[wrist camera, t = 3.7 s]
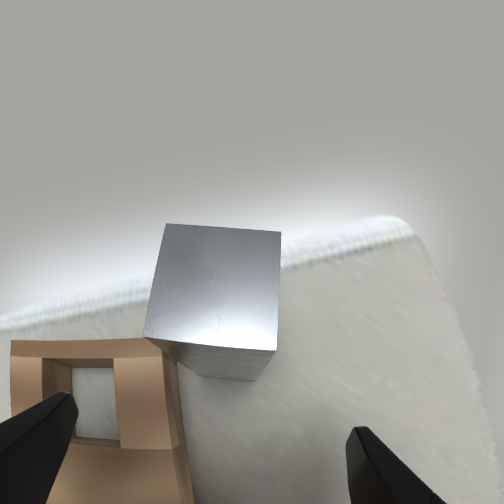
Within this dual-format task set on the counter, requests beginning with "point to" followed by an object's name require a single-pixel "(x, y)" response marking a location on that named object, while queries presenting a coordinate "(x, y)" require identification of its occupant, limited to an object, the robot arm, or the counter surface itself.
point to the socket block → (129, 421)
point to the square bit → (216, 299)
